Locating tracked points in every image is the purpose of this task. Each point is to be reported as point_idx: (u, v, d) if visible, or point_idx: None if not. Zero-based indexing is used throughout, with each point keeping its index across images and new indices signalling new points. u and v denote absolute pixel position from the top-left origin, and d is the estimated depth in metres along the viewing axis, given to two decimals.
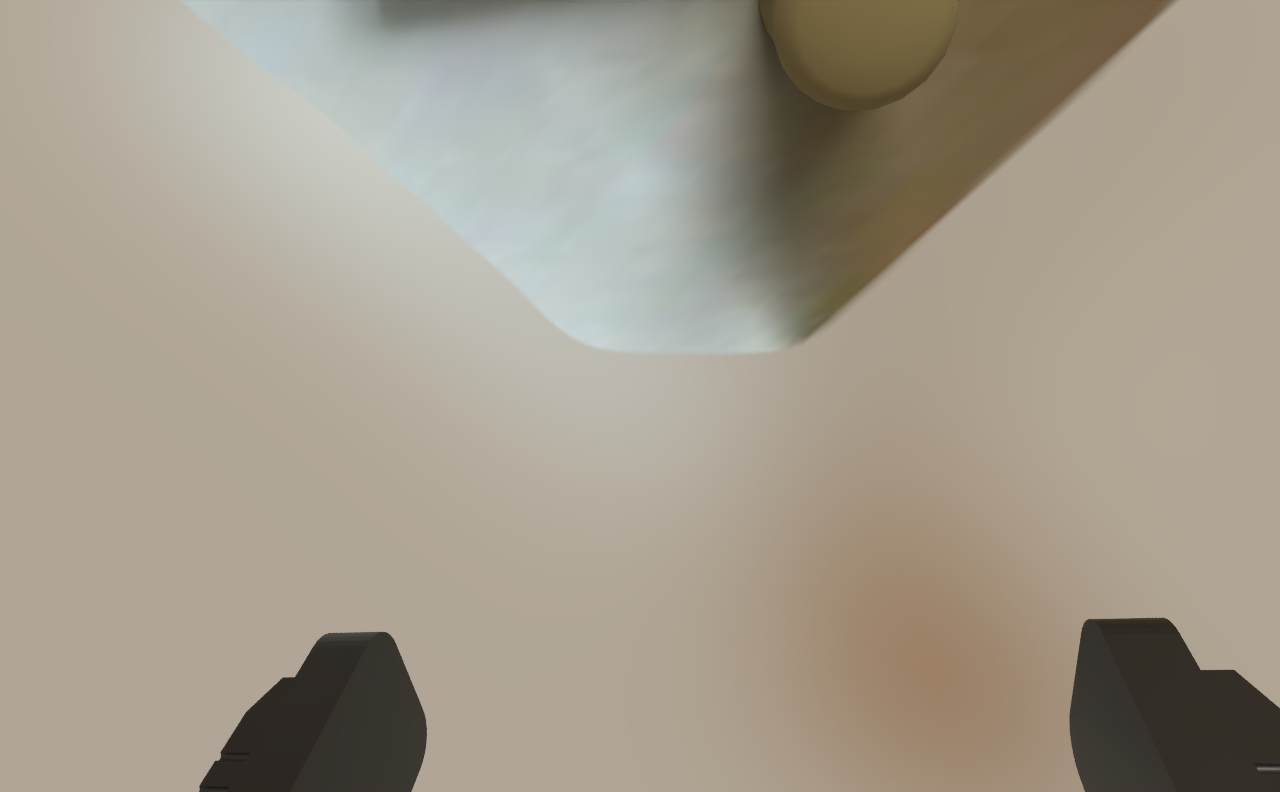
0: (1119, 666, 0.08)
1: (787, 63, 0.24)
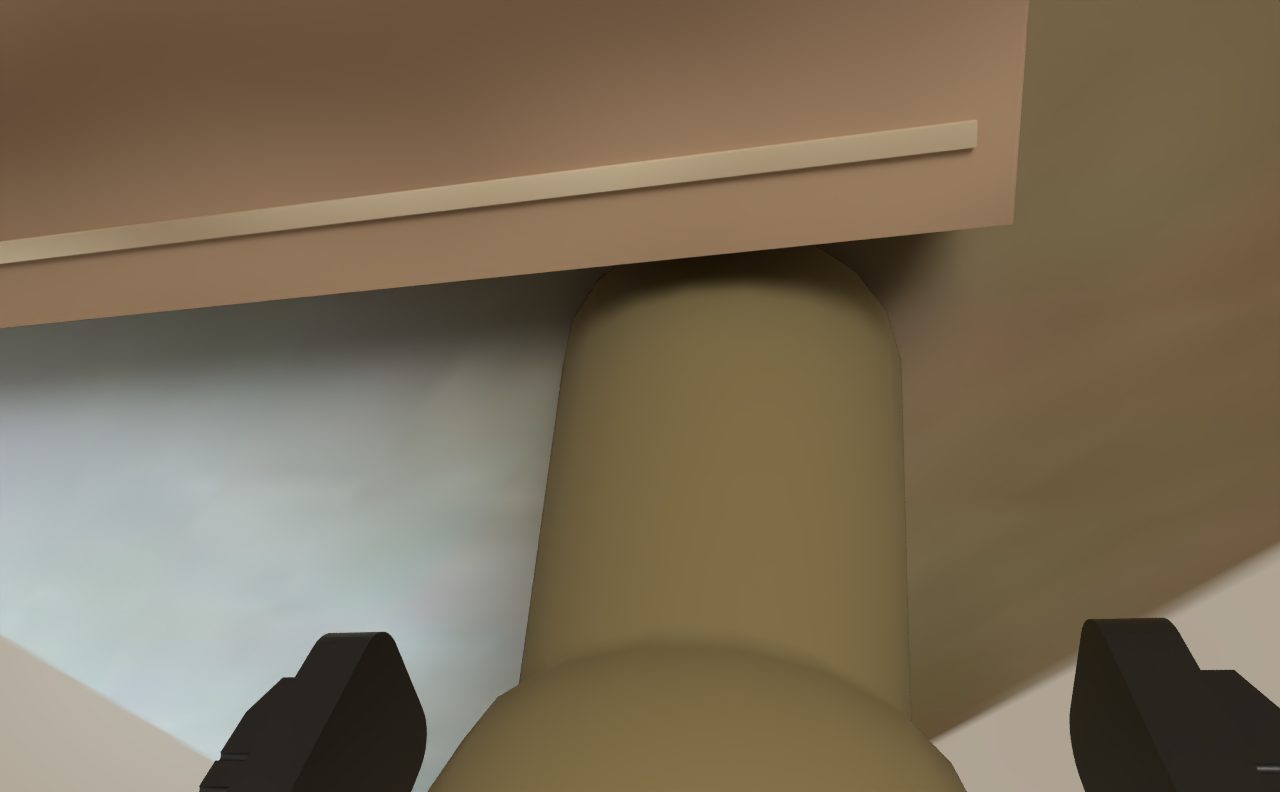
0: (1119, 666, 0.08)
1: None
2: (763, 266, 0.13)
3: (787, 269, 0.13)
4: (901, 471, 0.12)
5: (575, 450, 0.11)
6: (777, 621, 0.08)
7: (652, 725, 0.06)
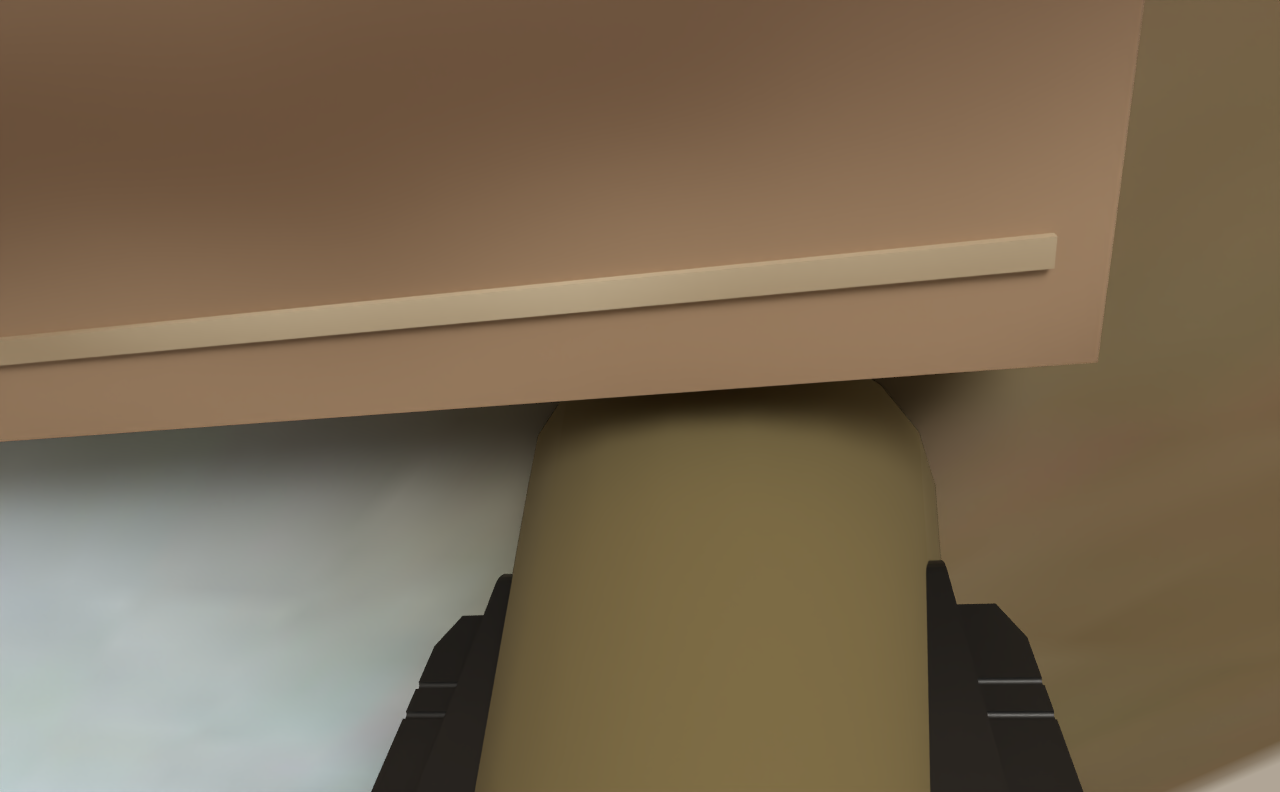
0: None
1: None
2: (768, 389, 0.10)
3: (798, 393, 0.10)
4: None
5: (524, 654, 0.08)
6: None
7: None
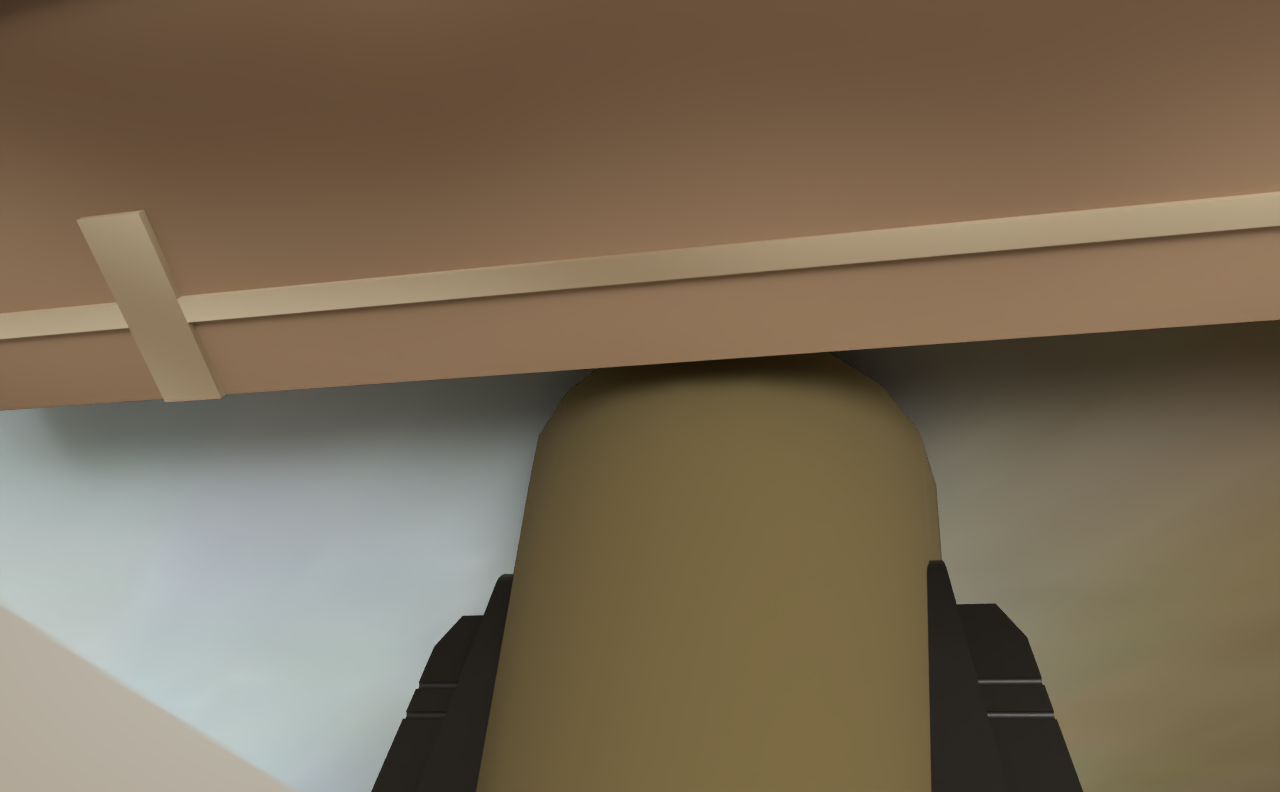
0: None
1: None
2: (769, 390, 0.10)
3: (799, 393, 0.10)
4: None
5: (525, 654, 0.08)
6: None
7: None
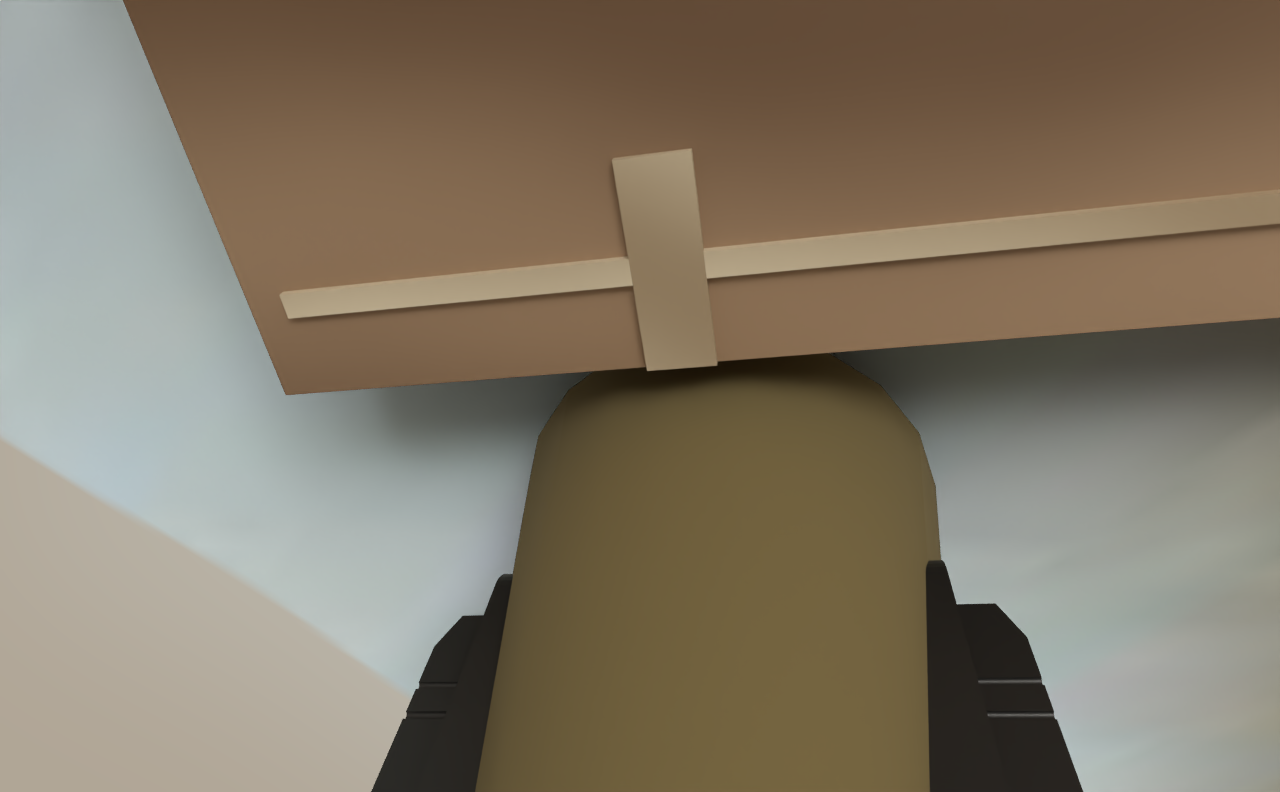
0: None
1: None
2: (768, 390, 0.10)
3: (799, 393, 0.10)
4: None
5: (524, 654, 0.08)
6: None
7: None
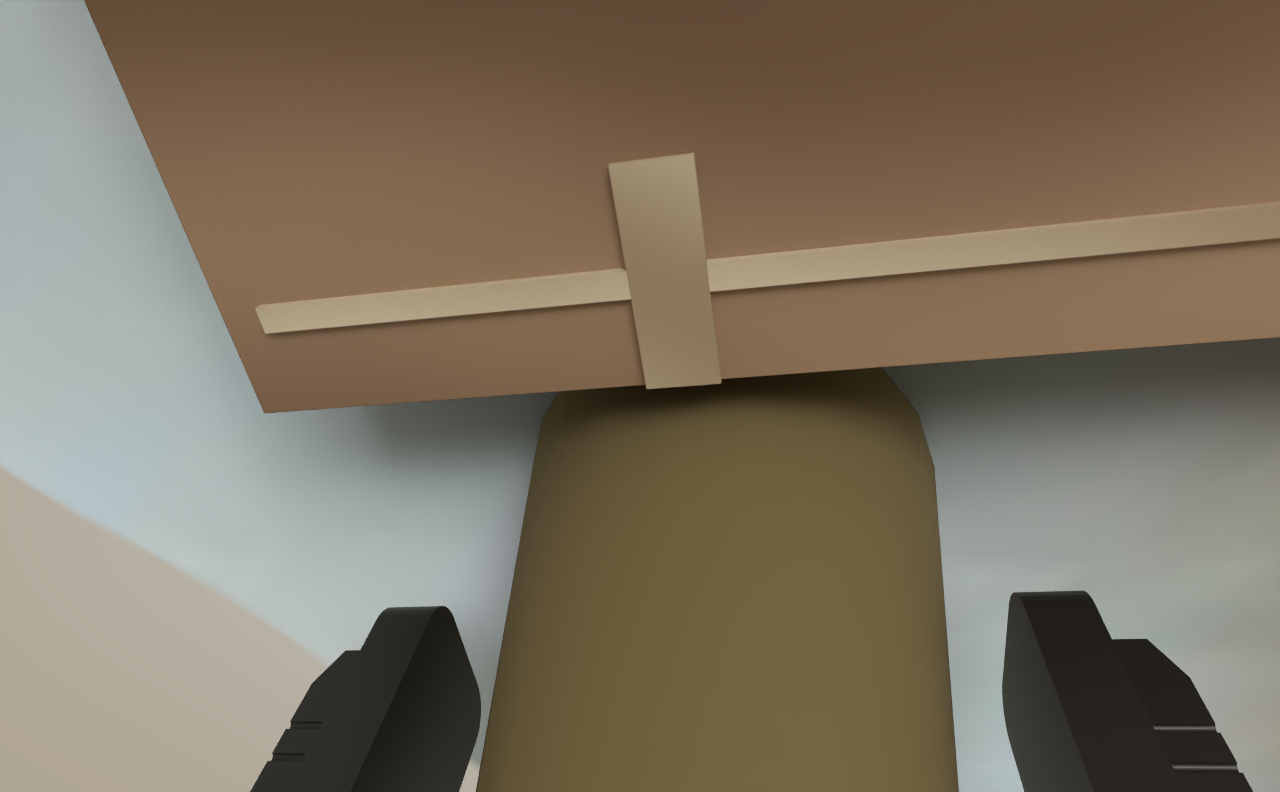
0: (1036, 634, 0.08)
1: None
2: None
3: None
4: (944, 637, 0.09)
5: (531, 622, 0.08)
6: None
7: None
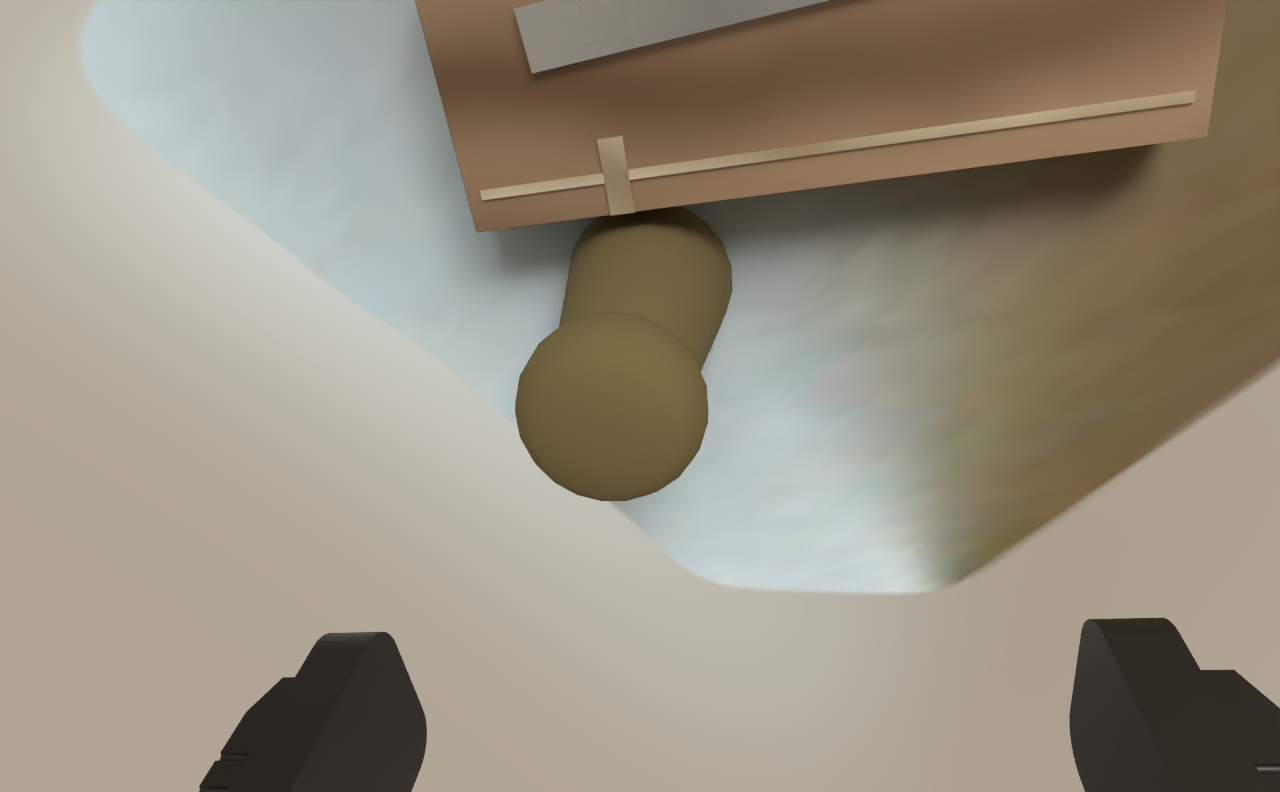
0: (1119, 666, 0.08)
1: (532, 458, 0.23)
2: (658, 216, 0.28)
3: (669, 218, 0.28)
4: (713, 300, 0.27)
5: (574, 286, 0.26)
6: (639, 316, 0.23)
7: (594, 319, 0.22)
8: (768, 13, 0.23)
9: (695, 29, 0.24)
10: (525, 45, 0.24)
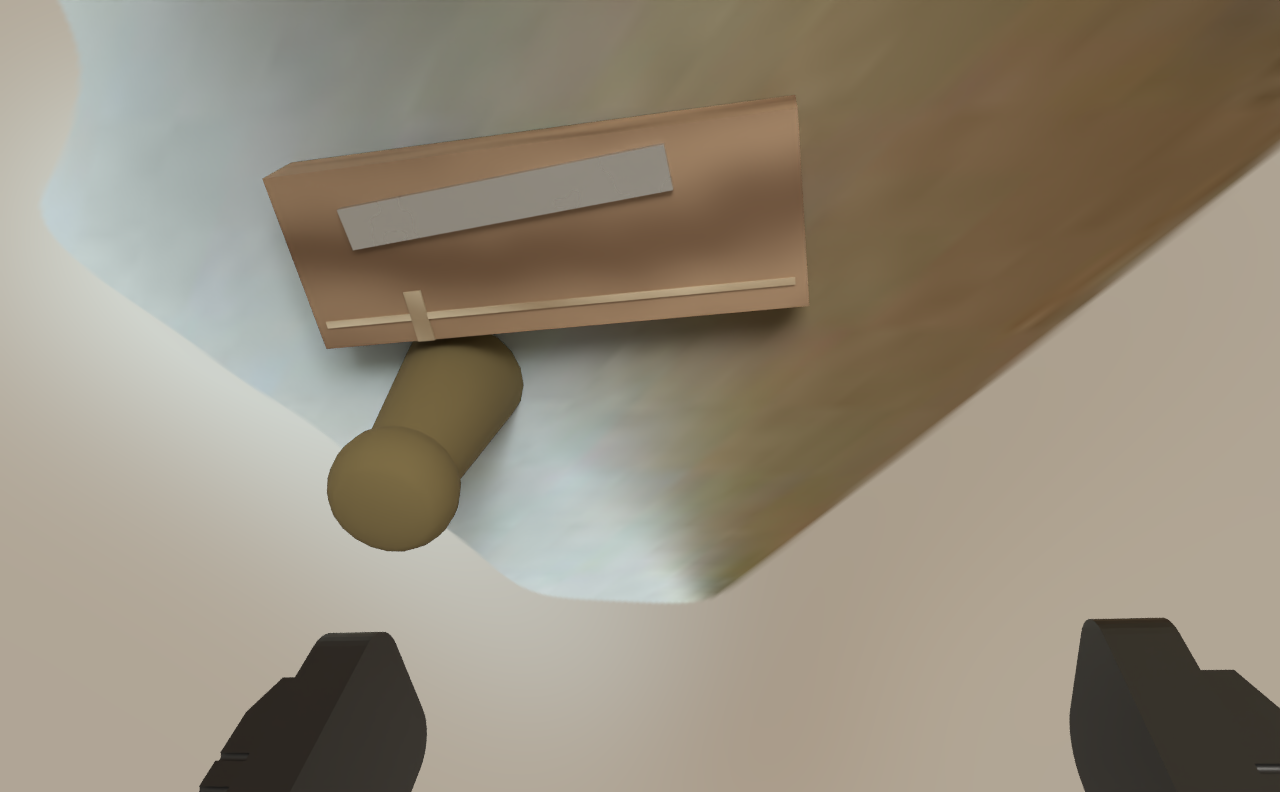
0: (1119, 666, 0.08)
1: None
2: (458, 338, 0.39)
3: (467, 339, 0.39)
4: (492, 402, 0.38)
5: (389, 393, 0.37)
6: (417, 426, 0.34)
7: (376, 434, 0.33)
8: (506, 220, 0.34)
9: (459, 228, 0.35)
10: (346, 232, 0.35)
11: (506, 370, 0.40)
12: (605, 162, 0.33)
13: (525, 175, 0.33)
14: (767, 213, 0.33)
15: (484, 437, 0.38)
